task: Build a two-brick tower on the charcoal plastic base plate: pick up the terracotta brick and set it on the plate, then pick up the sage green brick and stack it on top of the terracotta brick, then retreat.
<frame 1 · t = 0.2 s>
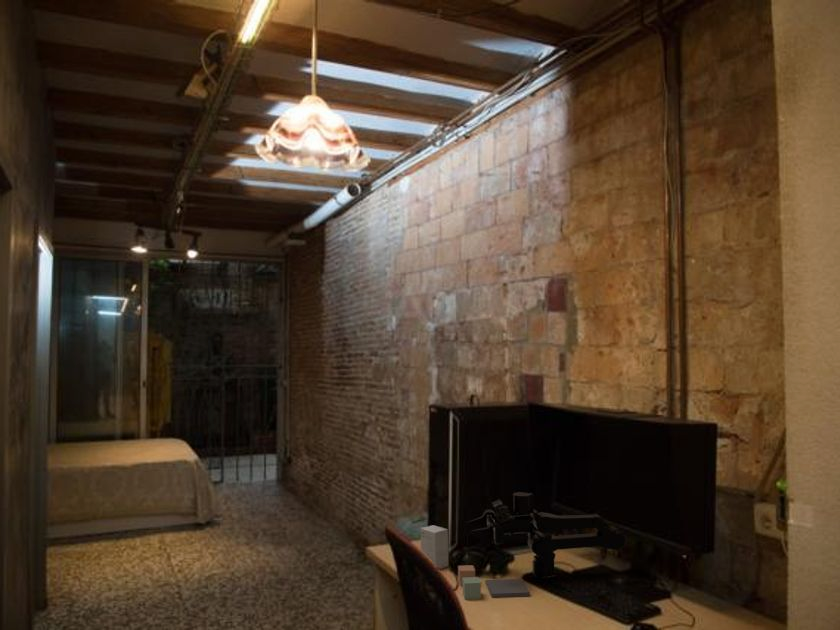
hand: (469, 528, 218), 17 cm above the table, tool horizontal, fingers open, 9 cm apart
sage brick: (471, 596, 202), on the table
small box: (434, 566, 231), on the table
terracotta brick: (466, 583, 213), on the table
tower base: (507, 589, 207), on the table
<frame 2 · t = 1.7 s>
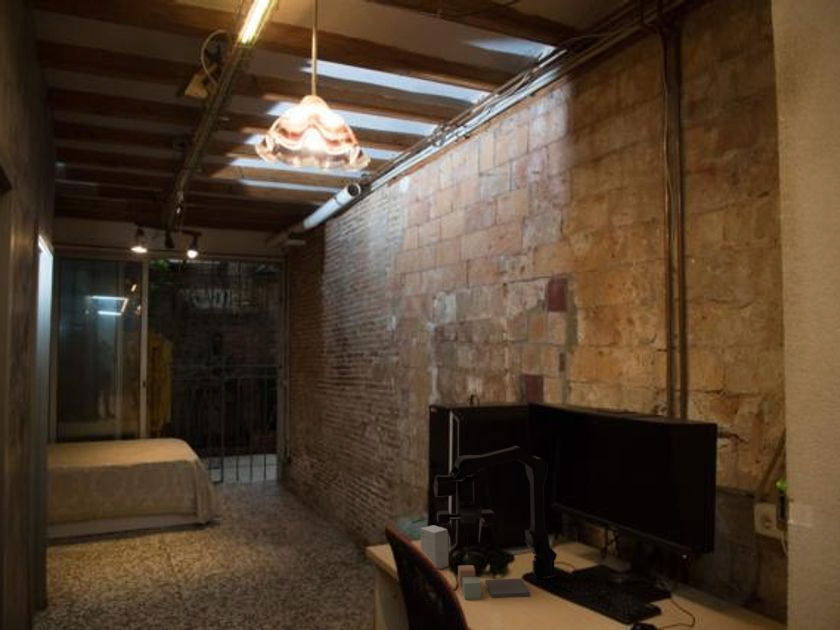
hand: (466, 542, 214), 13 cm above the table, tool pointing down, fingers open, 9 cm apart
nothing on the table moved.
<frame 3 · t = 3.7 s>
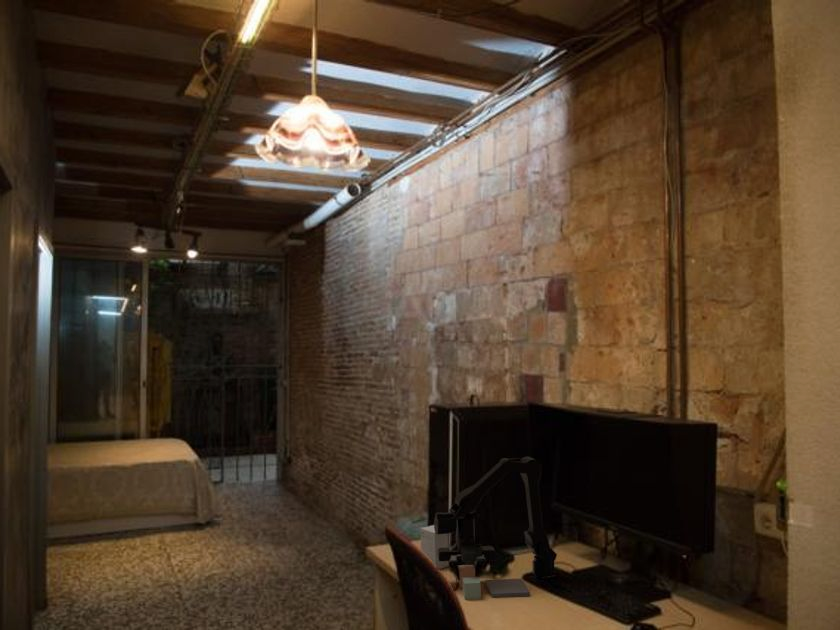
hand: (466, 579, 213), 1 cm above the table, tool pointing down, fingers closed on terracotta brick, 5 cm apart
terracotta brick: (466, 583, 213), on the table, touching gripper
everything else where it was.
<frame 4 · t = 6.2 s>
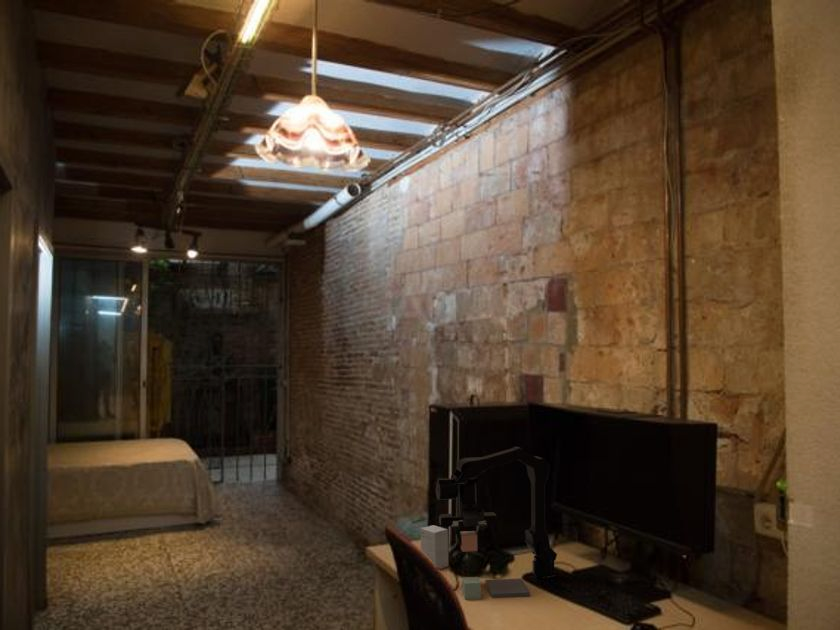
hand: (468, 545, 213), 12 cm above the table, tool pointing down, fingers closed on terracotta brick, 5 cm apart
terracotta brick: (468, 548, 213), point 11 cm above the table, touching gripper
everything else where it was.
when the fingers open (3 cm above the table, at t = 8.9 s): terracotta brick stays where it is, resting on tower base.
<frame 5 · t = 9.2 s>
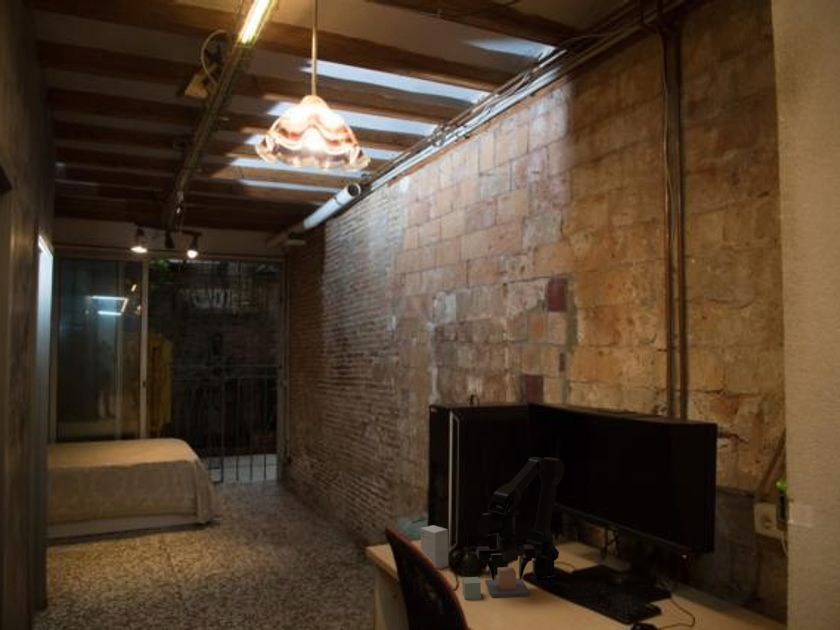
hand: (506, 579, 207), 3 cm above the table, tool pointing down, fingers open, 8 cm apart
terracotta brick: (507, 585, 207), point 1 cm above the table, touching tower base
everything else where it was.
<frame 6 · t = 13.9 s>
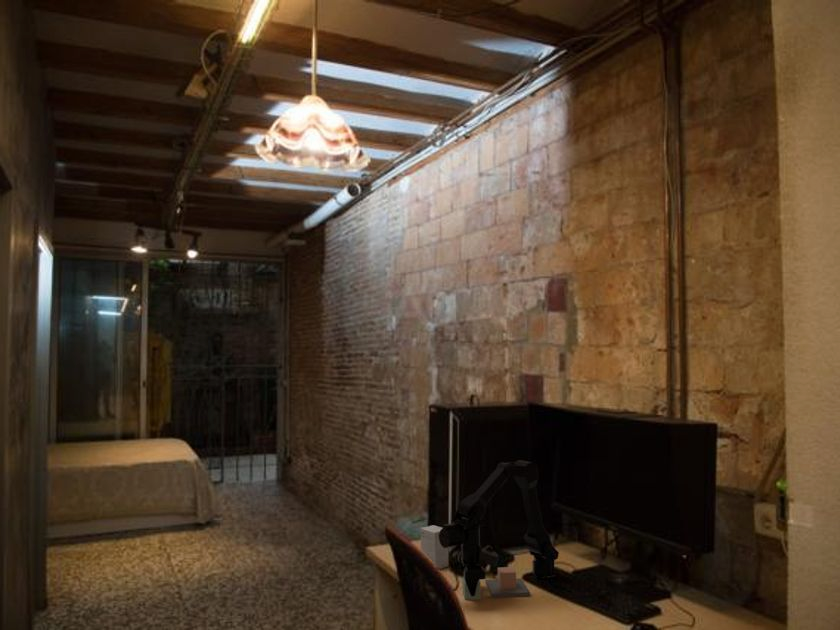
hand: (471, 592, 202), 1 cm above the table, tool pointing down, fingers closed on sage brick, 5 cm apart
sage brick: (471, 596, 202), on the table, touching gripper
everything else where it was.
when the fingers open (8 cm above the table, at t = 18.3 s): sage brick stays where it is, resting on terracotta brick.
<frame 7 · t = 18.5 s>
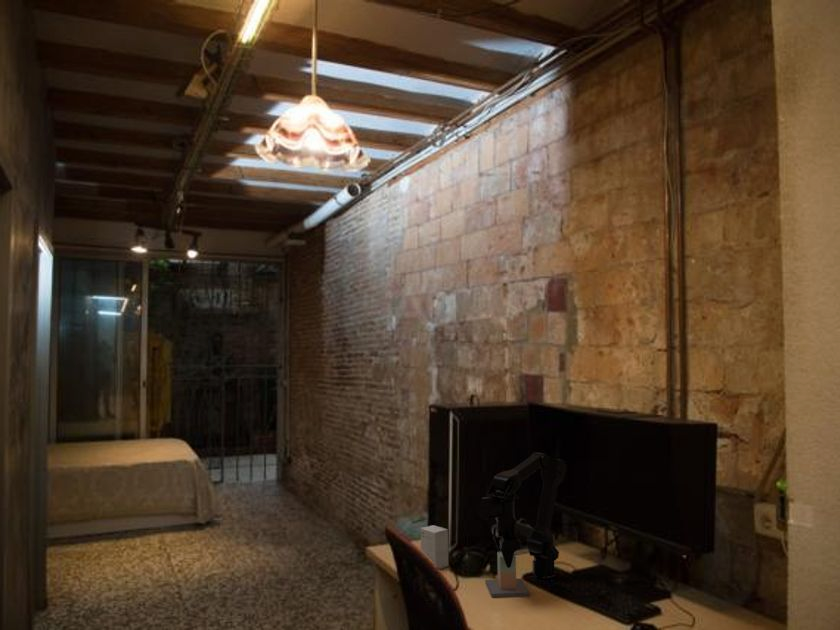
hand: (506, 563, 207), 8 cm above the table, tool pointing down, fingers open, 7 cm apart
sage brick: (506, 569, 207), point 6 cm above the table, touching terracotta brick
terracotta brick: (507, 585, 207), point 1 cm above the table, touching sage brick, tower base
everything else where it was.
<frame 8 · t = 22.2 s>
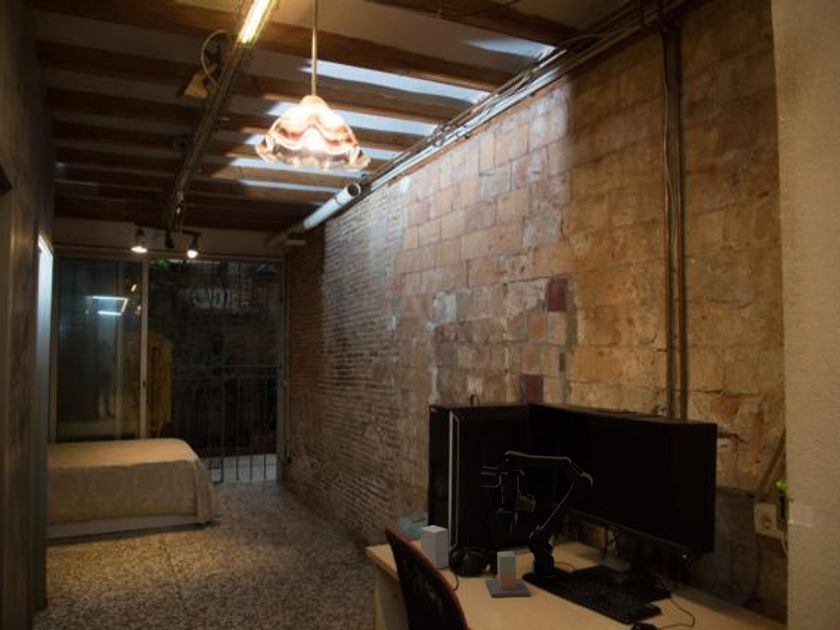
hand: (510, 534, 223), 13 cm above the table, tool pointing down, fingers open, 9 cm apart
nothing on the table moved.
at the end: terracotta brick inside the target area on the tower base (0.0 cm from its centre), point 1.2 cm above the tower base's base; sage brick 0.0 cm off-centre on the terracotta brick, point 5.0 cm above the terracotta brick's base; sage brick tilted 0° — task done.
